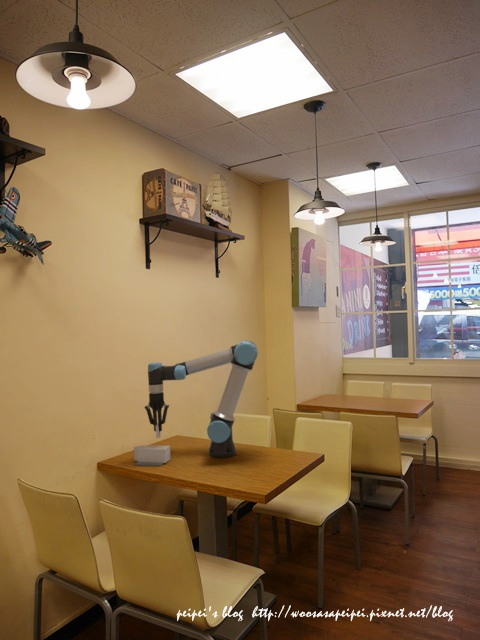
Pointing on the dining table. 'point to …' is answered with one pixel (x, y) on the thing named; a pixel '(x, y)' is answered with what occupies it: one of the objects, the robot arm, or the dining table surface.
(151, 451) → the milk carton
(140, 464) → the mat
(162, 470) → the dining table surface
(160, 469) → the dining table surface
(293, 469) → the dining table surface
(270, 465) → the dining table surface
